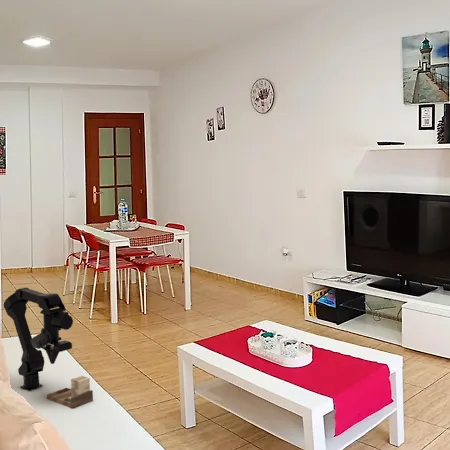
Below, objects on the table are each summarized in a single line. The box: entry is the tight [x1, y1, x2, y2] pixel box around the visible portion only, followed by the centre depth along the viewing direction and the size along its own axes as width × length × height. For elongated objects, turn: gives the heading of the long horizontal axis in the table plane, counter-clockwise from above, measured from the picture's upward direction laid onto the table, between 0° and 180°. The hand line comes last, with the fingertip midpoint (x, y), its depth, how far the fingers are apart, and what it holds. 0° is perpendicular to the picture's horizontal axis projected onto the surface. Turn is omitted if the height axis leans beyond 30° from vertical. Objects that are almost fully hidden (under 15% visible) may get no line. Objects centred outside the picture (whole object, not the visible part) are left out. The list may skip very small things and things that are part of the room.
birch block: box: [70, 375, 91, 397], centre depth 226 cm, size 5×5×8 cm
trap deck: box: [46, 387, 94, 409], centre depth 228 cm, size 16×10×4 cm, turn 53°
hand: (52, 363), depth 231 cm, fingers closed
